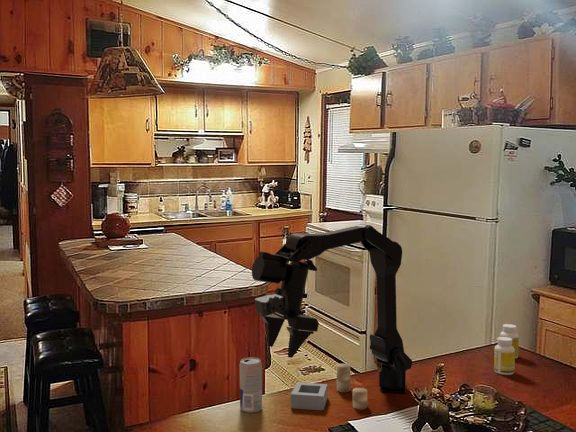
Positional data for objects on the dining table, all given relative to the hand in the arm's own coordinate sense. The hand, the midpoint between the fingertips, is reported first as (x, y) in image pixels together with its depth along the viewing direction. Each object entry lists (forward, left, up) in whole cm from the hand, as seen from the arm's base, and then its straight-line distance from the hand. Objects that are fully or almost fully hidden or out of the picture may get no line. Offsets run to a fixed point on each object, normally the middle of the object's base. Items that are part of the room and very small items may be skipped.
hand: (279, 351), depth 133 cm
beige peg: (-13, -18, -15) cm, 27 cm away
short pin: (-18, -8, -15) cm, 25 cm away
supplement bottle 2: (-57, -39, -16) cm, 71 cm away
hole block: (-6, -8, -15) cm, 18 cm away
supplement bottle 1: (-61, -54, -16) cm, 83 cm away
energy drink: (+8, -2, -16) cm, 18 cm away
